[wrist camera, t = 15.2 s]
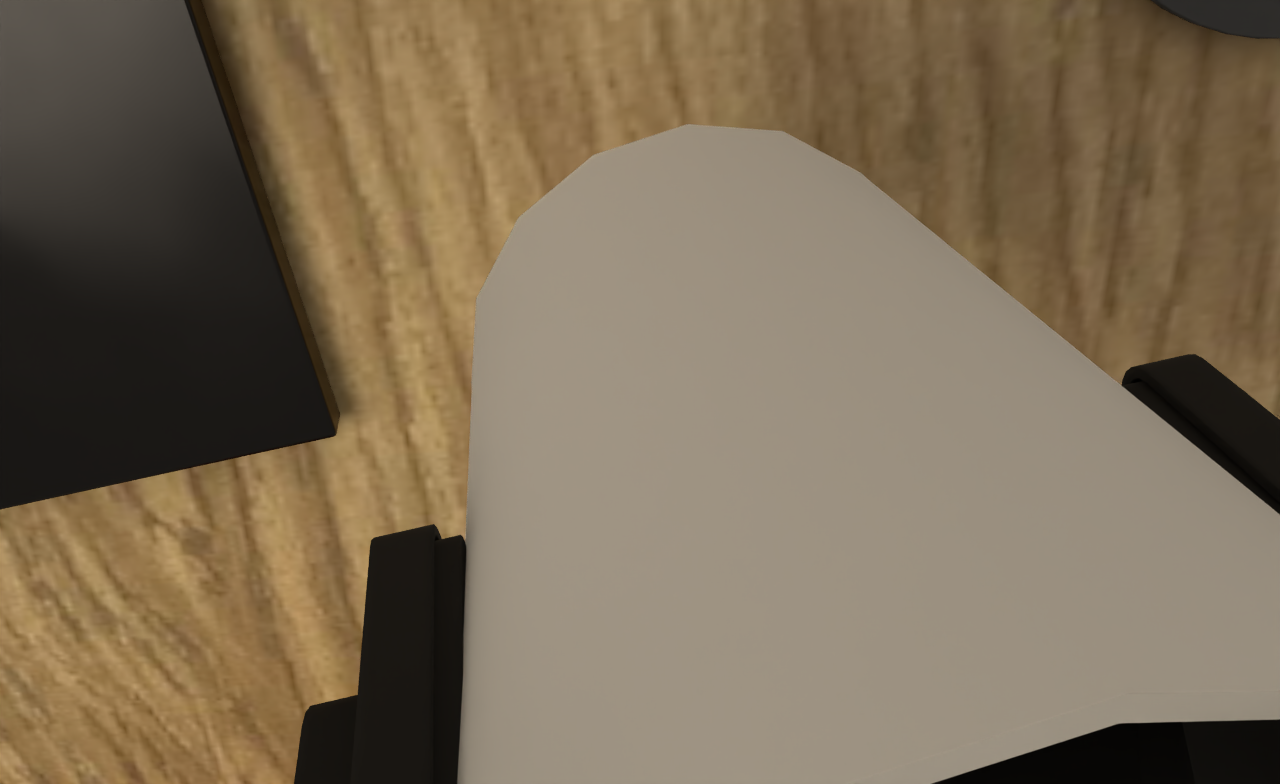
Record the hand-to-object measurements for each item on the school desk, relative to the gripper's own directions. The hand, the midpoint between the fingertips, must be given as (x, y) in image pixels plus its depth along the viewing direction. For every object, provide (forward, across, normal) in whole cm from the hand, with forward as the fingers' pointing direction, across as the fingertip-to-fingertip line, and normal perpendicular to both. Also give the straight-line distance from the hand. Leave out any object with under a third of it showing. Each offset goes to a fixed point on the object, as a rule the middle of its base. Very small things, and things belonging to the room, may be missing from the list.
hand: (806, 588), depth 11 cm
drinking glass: (+5, 0, 0) cm, 5 cm away
